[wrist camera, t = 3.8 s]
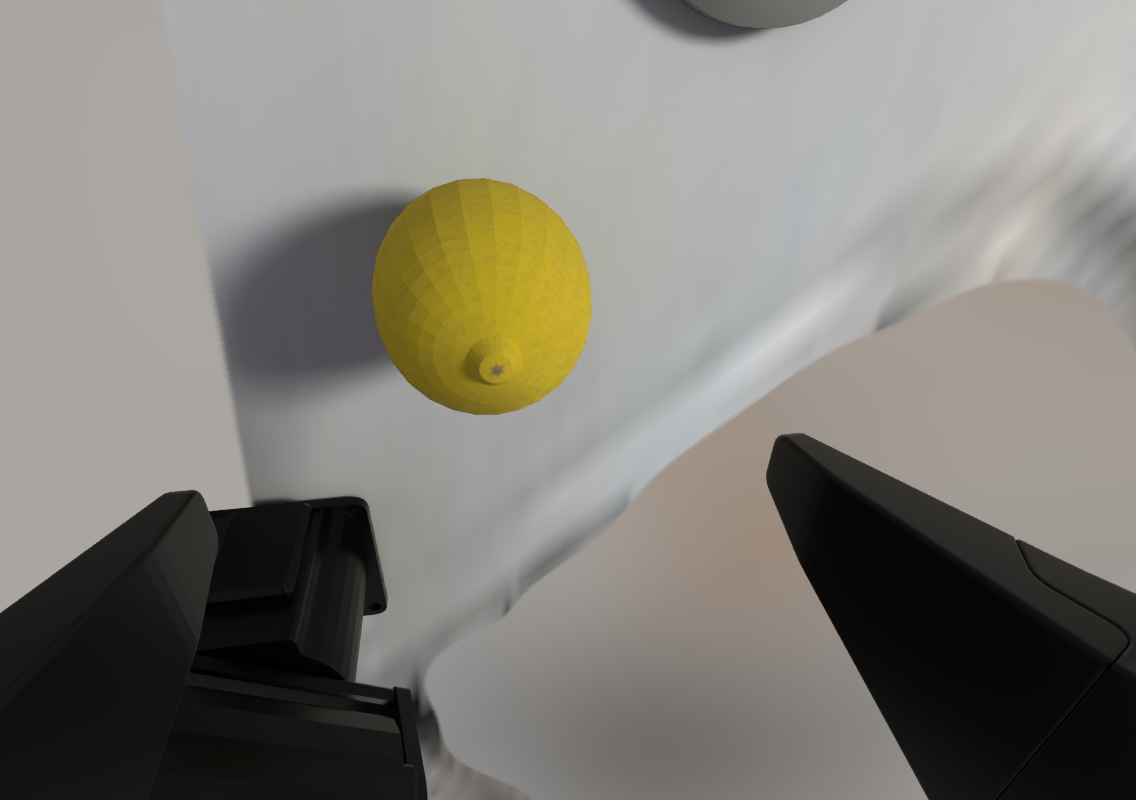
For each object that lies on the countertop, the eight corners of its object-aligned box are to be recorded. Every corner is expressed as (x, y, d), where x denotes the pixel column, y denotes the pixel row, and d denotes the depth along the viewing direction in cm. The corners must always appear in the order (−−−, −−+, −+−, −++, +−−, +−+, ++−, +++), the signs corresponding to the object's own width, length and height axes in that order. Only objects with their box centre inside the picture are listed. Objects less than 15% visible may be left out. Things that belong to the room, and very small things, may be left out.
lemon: (475, 353, 21) (493, 511, 14) (344, 240, 18) (292, 374, 12) (595, 247, 20) (675, 367, 13) (475, 107, 17) (501, 171, 10)
